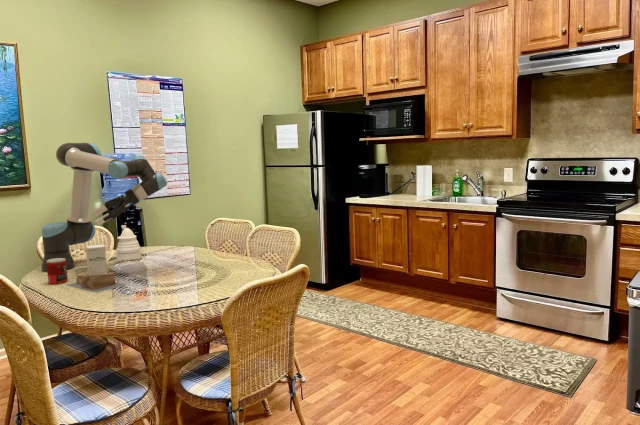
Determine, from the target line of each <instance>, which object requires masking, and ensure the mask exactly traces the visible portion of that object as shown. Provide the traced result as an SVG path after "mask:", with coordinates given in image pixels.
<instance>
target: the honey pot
mask: <svg viewBox="0 0 640 425" xmlns="http://www.w3.org/2000/svg"><path fill="white" fill-rule="evenodd" d="M120 227H121V229H122V231H121V234H120V236H117V240H118V242H117V245H116V248H115V250H116V251H115V252H116V260H120V261H127V260H135V259H140V258H141V257H142V251H141V250H142V249H141V248H142V247H141V246H140V244H139V241H138V240H137V238H138V237H137V235H135V234H134V232H133V230H131V229H130V228H129V227H127V225H126V224H124V225H123V224H122V225H121V226H120Z"/></svg>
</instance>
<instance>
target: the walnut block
mask: <svg viewBox="0 0 640 425" xmlns="http://www.w3.org/2000/svg"><path fill="white" fill-rule="evenodd" d="M80 279H81V287H85V288H89V289H93V290H96V289H99V288H103V287H107V286H111V285H115V282H116V274H115V272H110V271H107V275H99V276H91V277H89V274H84V275H80Z"/></svg>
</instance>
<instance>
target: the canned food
mask: <svg viewBox="0 0 640 425" xmlns="http://www.w3.org/2000/svg"><path fill="white" fill-rule="evenodd" d="M46 263H47V281H48V284H49V285H62V284H66V283H68V281H69V280H68V270H67V267H66V259H65V258H54V259H49V260H47V262H46Z"/></svg>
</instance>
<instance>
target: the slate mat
mask: <svg viewBox="0 0 640 425" xmlns="http://www.w3.org/2000/svg"><path fill="white" fill-rule="evenodd" d="M66 286H68V287H72V288H74V289H75V288H76V289H80V290H84V291H87V292H92V293H96V294H97V293H101V292H105V291H108V290H112V289H115V288H119V287H124V286H127V284H124V283H119V282H116V281H115V285H111V286H107V287H103V288H99V289H96V290H93V289H89V288H85V287H81V284H77V281H76V282H72V283H68V284H66Z"/></svg>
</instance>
